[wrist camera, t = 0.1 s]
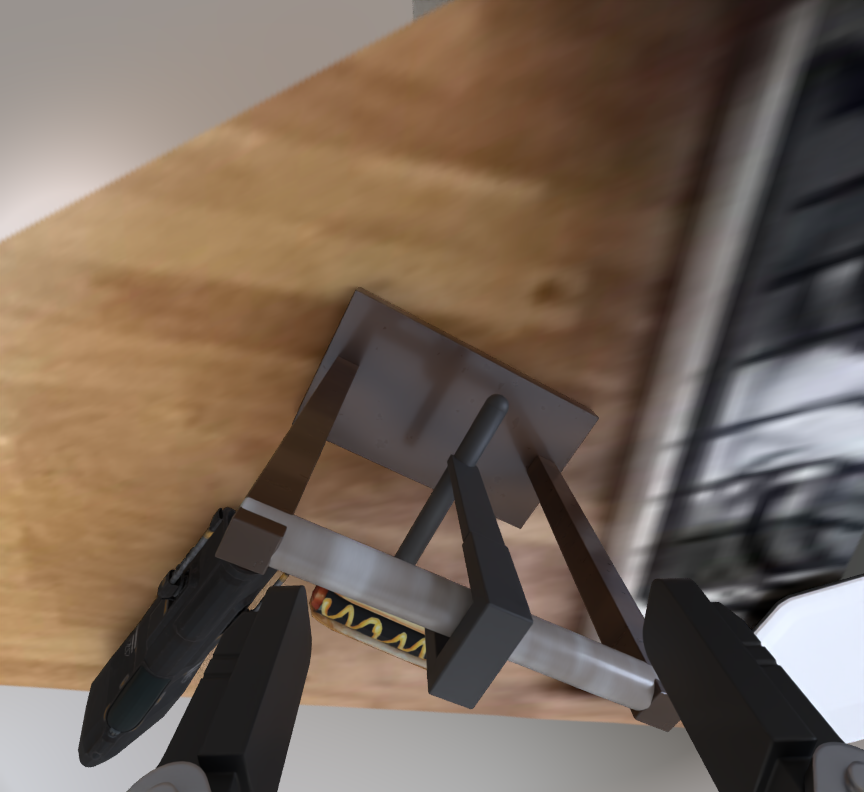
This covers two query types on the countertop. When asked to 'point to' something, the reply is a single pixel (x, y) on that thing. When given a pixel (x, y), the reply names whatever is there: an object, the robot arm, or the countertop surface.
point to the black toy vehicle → (168, 645)
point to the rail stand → (425, 463)
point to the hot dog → (370, 626)
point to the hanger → (472, 573)
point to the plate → (823, 649)
